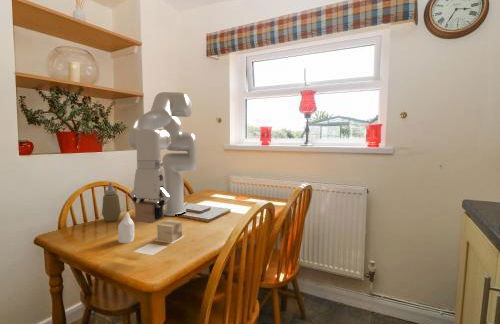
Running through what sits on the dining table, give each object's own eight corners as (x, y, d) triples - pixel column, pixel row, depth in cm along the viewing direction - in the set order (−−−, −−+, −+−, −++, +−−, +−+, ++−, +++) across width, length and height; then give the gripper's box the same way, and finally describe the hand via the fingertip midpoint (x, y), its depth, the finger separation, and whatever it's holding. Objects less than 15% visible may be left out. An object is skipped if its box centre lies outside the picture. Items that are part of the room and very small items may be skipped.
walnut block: (148, 216, 100) (148, 199, 100) (163, 218, 98) (163, 201, 98) (135, 221, 94) (135, 203, 94) (151, 223, 92) (151, 205, 91)
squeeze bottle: (102, 218, 136) (101, 182, 134) (121, 217, 139) (120, 181, 137) (101, 223, 128) (99, 184, 127) (120, 221, 131) (119, 183, 130)
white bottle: (116, 211, 105) (132, 209, 108) (117, 242, 106) (133, 239, 109) (118, 215, 100) (135, 213, 103) (119, 247, 101) (136, 244, 104)
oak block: (168, 234, 112) (167, 219, 111) (182, 236, 110) (181, 221, 109) (157, 240, 106) (157, 224, 105) (172, 242, 103) (171, 226, 103)
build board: (163, 234, 115) (163, 231, 115) (193, 239, 111) (193, 235, 110) (123, 255, 95) (122, 252, 95) (157, 262, 90) (157, 258, 90)
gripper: (177, 165, 95) (177, 217, 97) (136, 163, 101) (137, 212, 103) (163, 167, 88) (164, 223, 90) (120, 165, 94) (121, 217, 95)
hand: (149, 216), depth 96 cm, fingers closed on walnut block, 6 cm apart
